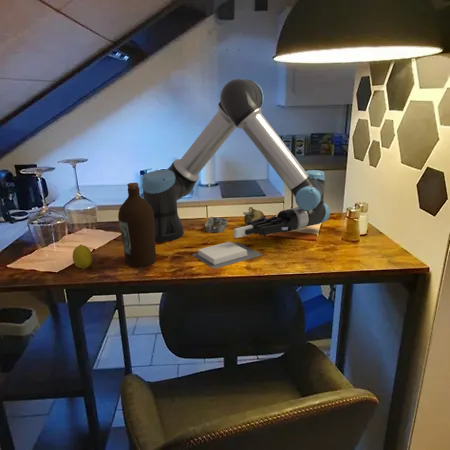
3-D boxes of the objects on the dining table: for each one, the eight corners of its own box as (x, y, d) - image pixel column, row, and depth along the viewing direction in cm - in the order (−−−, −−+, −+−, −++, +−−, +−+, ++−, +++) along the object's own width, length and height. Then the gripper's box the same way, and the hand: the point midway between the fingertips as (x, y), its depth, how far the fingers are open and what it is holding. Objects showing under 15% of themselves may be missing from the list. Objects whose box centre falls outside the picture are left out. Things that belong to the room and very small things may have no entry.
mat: (238, 244, 140) (238, 242, 139) (263, 256, 128) (262, 254, 128) (191, 256, 131) (191, 254, 130) (214, 270, 119) (214, 268, 119)
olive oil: (151, 252, 135) (144, 178, 127) (163, 263, 126) (156, 184, 118) (119, 260, 130) (110, 183, 122) (129, 271, 121) (120, 189, 113)
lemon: (94, 271, 122) (90, 246, 120) (74, 274, 120) (70, 249, 118) (93, 264, 127) (89, 240, 125) (74, 267, 125) (70, 243, 123)
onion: (263, 230, 153) (263, 209, 150) (242, 229, 155) (241, 209, 152) (265, 224, 160) (265, 204, 157) (245, 223, 162) (245, 203, 159)
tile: (229, 241, 135) (197, 249, 129) (247, 250, 127) (214, 259, 121) (229, 247, 135) (198, 255, 129) (247, 256, 127) (214, 265, 121)
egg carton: (223, 234, 151) (222, 223, 150) (203, 233, 153) (203, 223, 151) (229, 225, 161) (229, 215, 159) (211, 224, 162) (210, 214, 161)
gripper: (304, 234, 136) (247, 250, 125) (279, 225, 147) (224, 239, 135) (305, 213, 134) (247, 227, 122) (279, 205, 145) (223, 217, 133)
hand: (235, 233), depth 129 cm, fingers closed
